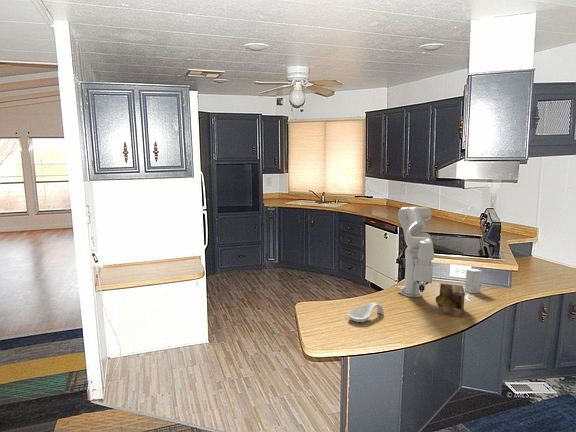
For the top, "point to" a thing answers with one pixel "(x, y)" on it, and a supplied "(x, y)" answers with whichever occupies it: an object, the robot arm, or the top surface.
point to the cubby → (453, 299)
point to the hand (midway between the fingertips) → (421, 291)
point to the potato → (445, 302)
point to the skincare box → (473, 281)
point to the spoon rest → (364, 312)
